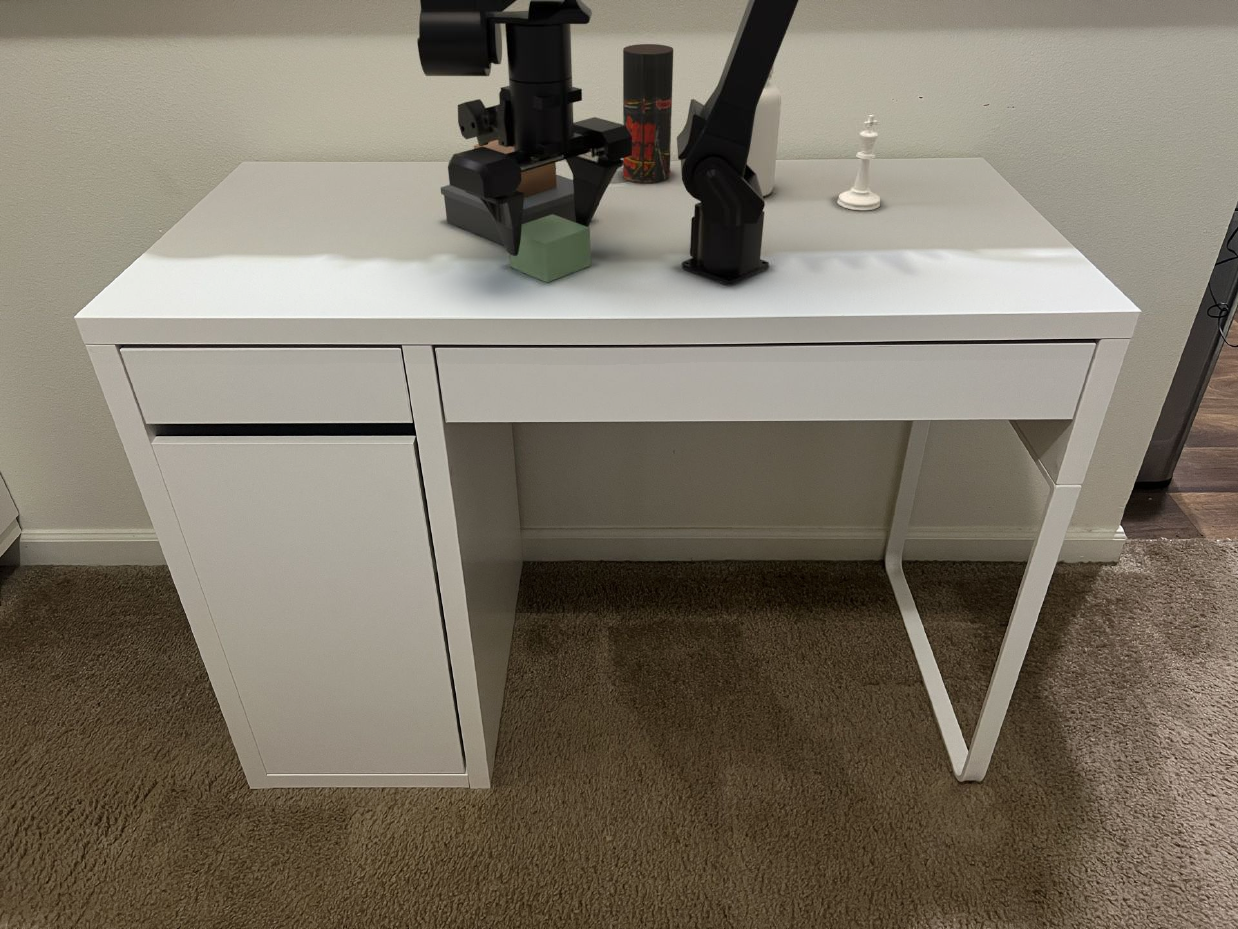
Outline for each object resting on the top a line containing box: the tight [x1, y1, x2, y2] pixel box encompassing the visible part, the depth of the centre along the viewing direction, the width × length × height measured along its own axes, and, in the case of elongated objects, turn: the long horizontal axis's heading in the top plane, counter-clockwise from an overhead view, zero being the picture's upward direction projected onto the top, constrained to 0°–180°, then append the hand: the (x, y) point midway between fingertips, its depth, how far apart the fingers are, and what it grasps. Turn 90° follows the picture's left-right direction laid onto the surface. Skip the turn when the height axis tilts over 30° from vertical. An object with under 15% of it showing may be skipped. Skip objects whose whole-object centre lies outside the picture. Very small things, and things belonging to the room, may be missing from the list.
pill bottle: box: [747, 63, 782, 197], centre depth 108 cm, size 8×8×15 cm
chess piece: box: [837, 114, 881, 211], centre depth 106 cm, size 5×5×10 cm
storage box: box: [440, 174, 593, 247], centre depth 103 cm, size 12×12×4 cm
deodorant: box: [622, 43, 674, 184], centre depth 113 cm, size 6×6×15 cm
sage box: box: [509, 214, 592, 284], centre depth 92 cm, size 6×6×4 cm
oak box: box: [473, 140, 557, 197], centre depth 100 cm, size 6×6×4 cm
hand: (548, 242), depth 92 cm, fingers open, 9 cm apart
